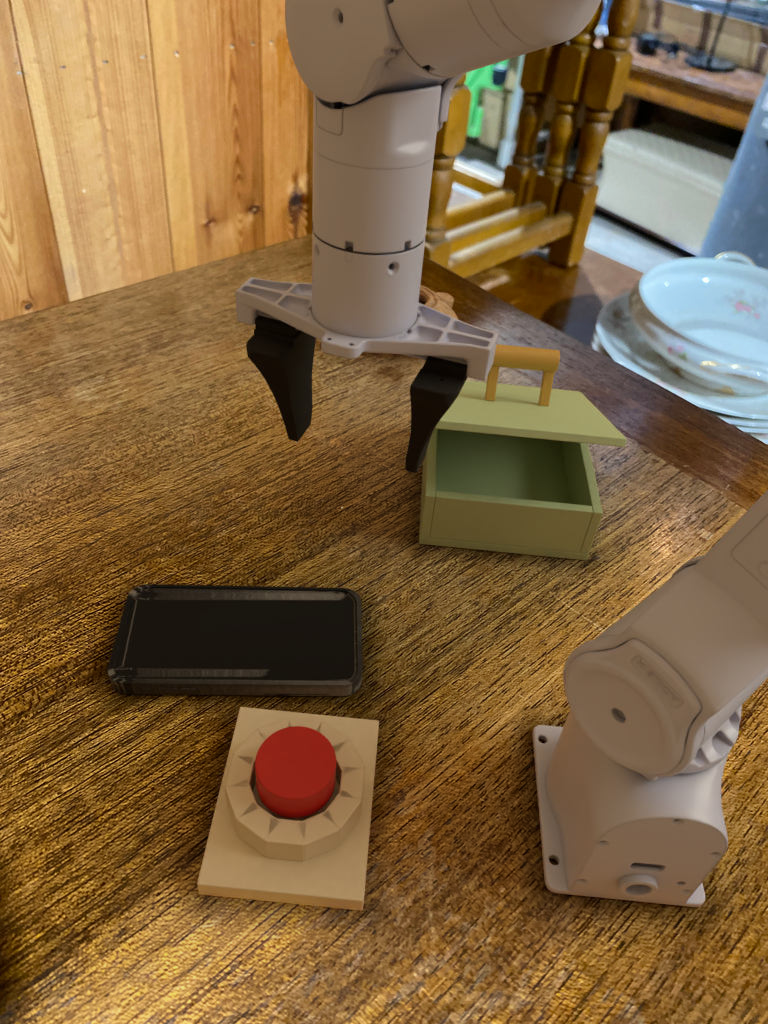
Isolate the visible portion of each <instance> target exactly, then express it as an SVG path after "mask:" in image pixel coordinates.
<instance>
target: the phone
mask: <svg viewBox="0 0 768 1024" xmlns="http://www.w3.org/2000/svg"><path fill="white" fill-rule="evenodd" d="M362 617H363V615H362V599H361V595H359V593H358V592H357V591H355V590H353V589H351V588H347V587H317V586H316V587H315V586H314V587H312V586H310V587H309V586H308V587H307V586H263V585H260V586H259V585H258V586H257V585H208V584H165V583H164V584H163V583H161V584H159V583H158V584H157V583H147V584H141V585H138V586H135V587H134V588H132V589H131V590H130V591H129V593H127V596H126V600H125V604H124V606H123V610H122V614H121V618H120V621H119V624H118V628H117V632H116V636H115V638H114V643H113V647H112V650H111V653H110V657H109V661H108V664H107V675H108V679H109V682H110V685H111V688H112V689H113V690H114V691H115V692H117V693H120V694H123V695H154V696H155V695H157V696H158V695H159V696H160V695H166V696H167V695H168V696H170V695H171V696H173V695H174V696H175V695H176V696H265V697H266V696H267V697H268V696H273V697H275V696H276V697H278V696H279V697H280V696H281V697H282V696H283V697H288V696H289V697H346V696H347V697H348V696H351V695H353V694H355V693H356V692H357V691H359V689H360V688H361V687H362V681H363V671H364V666H363V663H364V661H363V621H362V620H363V619H362Z"/></svg>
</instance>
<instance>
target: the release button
mask: <svg viewBox="0 0 768 1024" xmlns="http://www.w3.org/2000/svg"><path fill="white" fill-rule="evenodd" d="M255 773H256V786H257V792H258V795H259V797H260V799H261V801H262V802H263V804H264V805H265V806H266V807H267V808H268V809H269V810H271V811H272V812H274V813H276V814H278V815H280V816H283V817H288V818H301V817H305V816H308V815H311V814H313V813H315V812H317V811H318V810H320V809H321V808H322V807H323V806H324V805H325V804H326V803H327V802H328V801H329V799H330V797H331V796H332V794H333V791H334V787H335V776H336V754H335V751H334V748H333V746H332V744H331V743H330V742H329V740H328V739H327V738H326V737H325V736H324V735H323V734H321V733H320V732H318V731H316V730H314V729H311V728H308V727H303V726H292V727H287V728H283V729H281V730H278V731H276V732H274V733H273V734H271V735H270V736H269V737H268V738H267V739H266V740H265V741H264V742H263V743H262V744H261V746H260V748H259V750H258V752H257V755H256V759H255Z"/></svg>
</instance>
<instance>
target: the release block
mask: <svg viewBox="0 0 768 1024" xmlns="http://www.w3.org/2000/svg"><path fill="white" fill-rule="evenodd" d="M292 726H303V727H308V728H311V729H314V730H316V731H318V732H320V733H321V734H323V735H324V736H325V737H326V738H327V739H328V740H329V742H330V743H331V744H332V746H333V748H334V751H335V754H336V776H335V787H334V791H333V794H332V796H331V797H330V799H329V801H328V802H327V803H326V804H325V805H324V806H323V807H322V808H321V809H320V810H318V811H317V812H315V813H313V814H311V815H308V816H305V817H301V818H288V817H283V816H280V815H278V814H276V813H274V812H272V811H271V810H269V809H268V808H267V807H266V806H265V805H264V804H263V802H262V801H261V799H260V797H259V795H258V792H257V786H256V773H255V759H256V755H257V752H258V750H259V748H260V746H261V744H262V743H263V742H264V741H265V740H266V739H267V738H268V737H269V736H270V735H271V734H273V733H274V732H276V731H278V730H281V729H283V728H287V727H292ZM379 728H380V720H376V719H367V718H356V717H347V716H337V715H328V714H327V715H325V714H316V713H307V712H298V711H297V712H295V711H288V710H276V709H268V708H258V707H247V706H240V707H239V709H238V713H237V718H236V722H235V726H234V730H233V734H232V738H231V742H230V746H229V750H228V754H227V757H226V758H227V760H226V763H225V766H224V771H223V775H222V778H221V783H220V787H219V791H218V795H217V800H216V804H215V808H214V812H213V817H212V820H211V825H210V827H209V833H208V837H207V841H206V845H205V849H204V853H203V857H202V860H201V861H202V862H201V865H200V869H199V873H198V877H197V882H196V884H197V890H198V894H199V895H204V896H213V897H223V898H233V899H243V900H251V901H263V902H272V903H283V904H292V905H301V906H311V907H320V908H332V909H341V910H352V911H360V912H361V911H363V909H364V905H365V904H364V903H365V894H366V893H365V892H366V881H367V868H368V858H369V846H370V834H371V823H372V810H373V799H374V787H375V775H376V762H377V752H378V751H377V750H378V740H379Z"/></svg>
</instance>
